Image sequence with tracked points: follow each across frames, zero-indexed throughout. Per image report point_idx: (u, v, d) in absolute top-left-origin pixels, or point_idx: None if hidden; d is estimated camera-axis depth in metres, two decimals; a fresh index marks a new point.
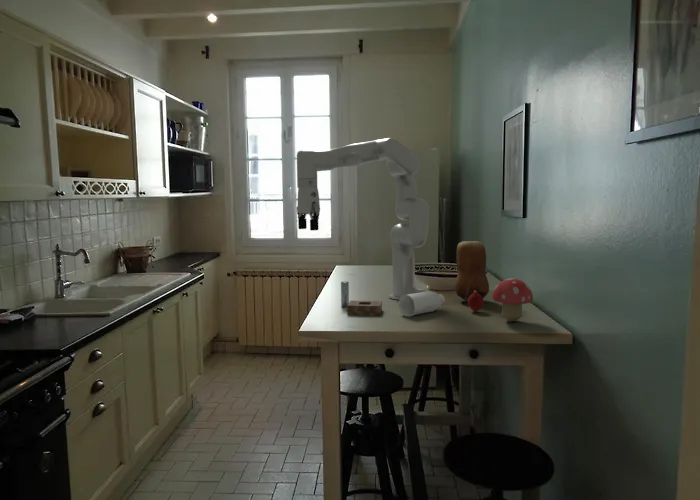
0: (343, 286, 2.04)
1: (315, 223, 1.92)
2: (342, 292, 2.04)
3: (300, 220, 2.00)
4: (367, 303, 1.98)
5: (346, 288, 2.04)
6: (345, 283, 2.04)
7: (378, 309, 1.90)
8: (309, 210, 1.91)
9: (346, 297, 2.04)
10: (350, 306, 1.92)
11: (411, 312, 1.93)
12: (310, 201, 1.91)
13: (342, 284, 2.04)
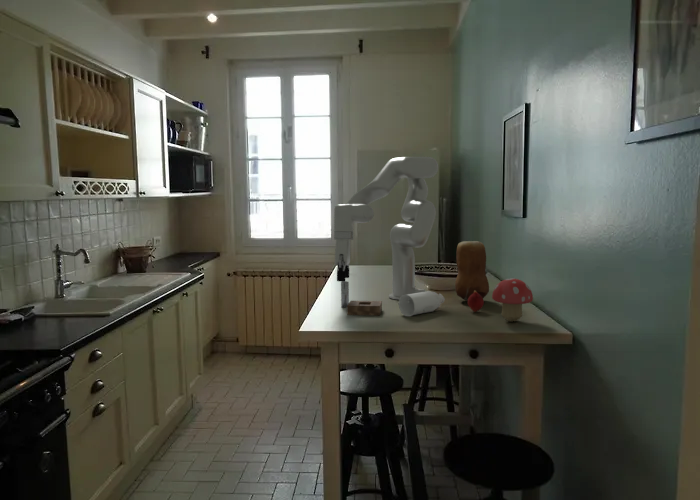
0: (343, 286, 2.04)
1: None
2: (342, 292, 2.04)
3: None
4: (367, 303, 1.98)
5: (346, 288, 2.04)
6: (345, 283, 2.04)
7: (378, 309, 1.90)
8: None
9: (346, 297, 2.04)
10: (350, 306, 1.92)
11: (411, 312, 1.93)
12: None
13: (342, 284, 2.04)
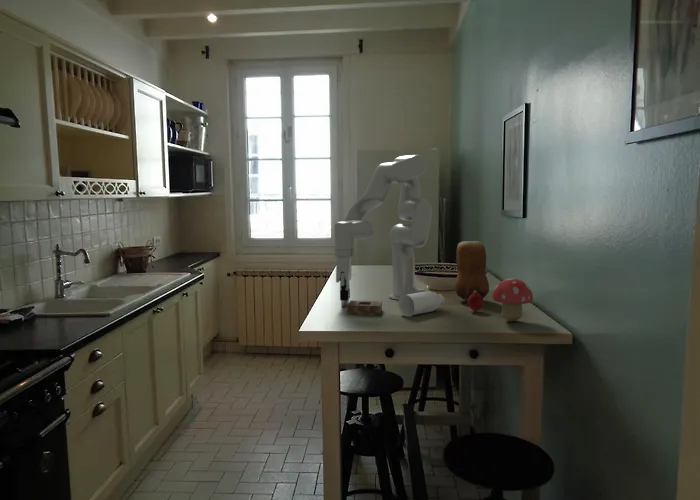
0: None
1: None
2: None
3: None
4: (367, 303, 1.98)
5: None
6: None
7: (378, 309, 1.90)
8: None
9: None
10: (350, 306, 1.92)
11: (411, 312, 1.93)
12: None
13: None
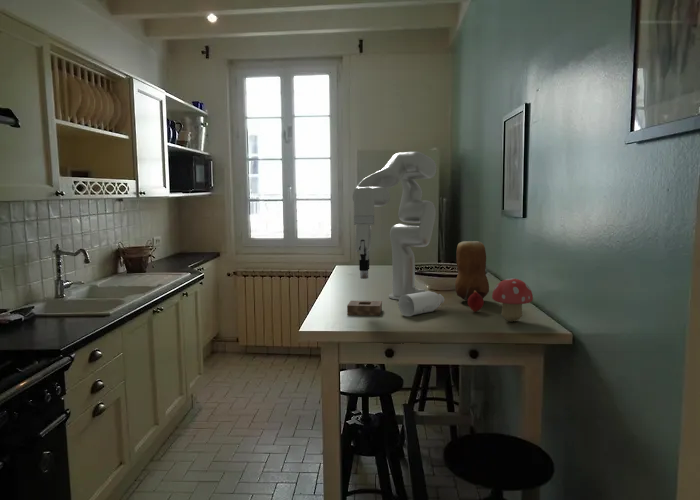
0: None
1: None
2: None
3: None
4: (367, 303, 1.98)
5: None
6: None
7: (378, 309, 1.90)
8: None
9: None
10: (350, 306, 1.92)
11: (410, 312, 1.93)
12: None
13: None
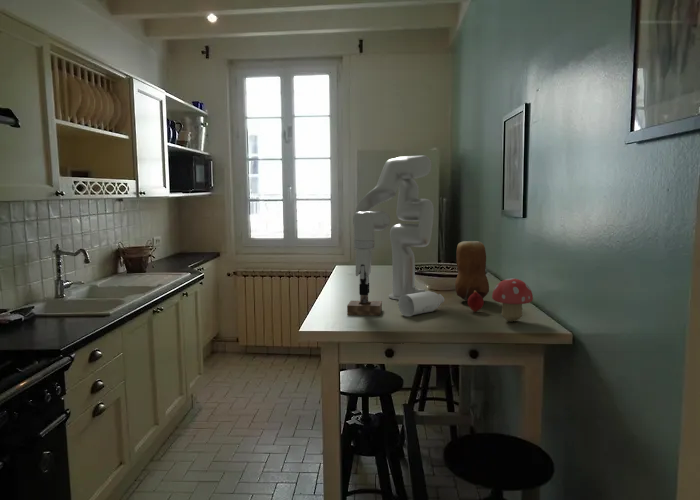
0: None
1: None
2: None
3: None
4: (367, 303, 1.98)
5: None
6: None
7: (378, 309, 1.90)
8: None
9: None
10: (350, 306, 1.92)
11: (410, 312, 1.93)
12: None
13: None
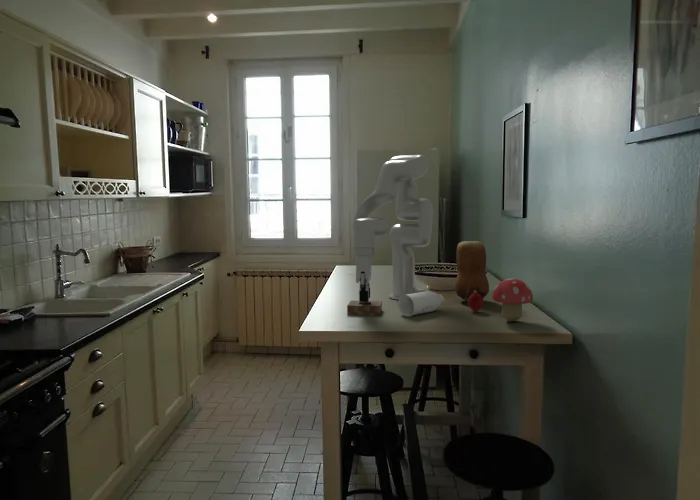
0: None
1: None
2: None
3: None
4: None
5: None
6: None
7: (378, 309, 1.90)
8: None
9: (366, 302, 1.94)
10: (350, 306, 1.92)
11: (410, 312, 1.93)
12: None
13: None
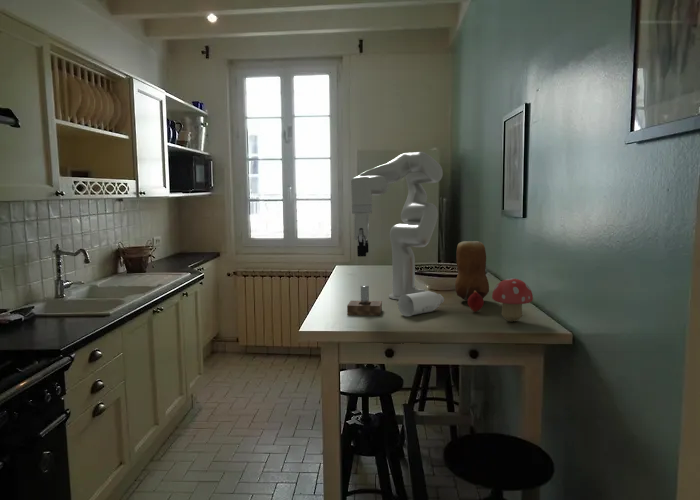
0: (363, 291, 1.94)
1: None
2: (362, 297, 1.94)
3: None
4: None
5: (366, 293, 1.94)
6: (365, 287, 1.93)
7: (378, 309, 1.90)
8: None
9: (366, 302, 1.94)
10: (350, 306, 1.92)
11: (410, 312, 1.93)
12: None
13: (362, 288, 1.94)
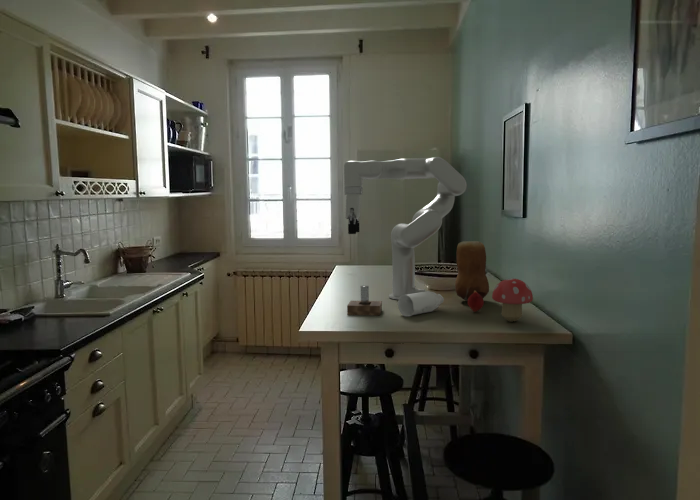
0: (363, 291, 1.94)
1: None
2: (362, 297, 1.94)
3: None
4: None
5: (366, 293, 1.94)
6: (365, 287, 1.94)
7: (378, 309, 1.90)
8: None
9: (366, 302, 1.94)
10: (350, 306, 1.92)
11: (410, 312, 1.93)
12: None
13: (362, 288, 1.94)
